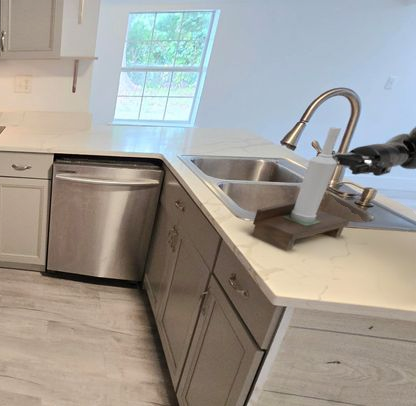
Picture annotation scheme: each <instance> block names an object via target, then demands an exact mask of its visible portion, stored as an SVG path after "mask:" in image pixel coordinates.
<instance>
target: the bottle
mask: <svg viewBox="0 0 416 406" xmlns="http://www.w3.org/2000/svg"><path fill="white" fill-rule="evenodd" d="M341 131H342V128H341V127H336V126H331V127H329V129H328V132H327V136H326V138H325V141H324V143H323V146H322V149H321V151H320V152H321V153H320V154H319V155H318V156H314V157H311V158H309V162H308V165H307V167H306V170H305V174H304V177H303V180H302V183H301V185H300V189H299V192H298V195H297V198H296V200H295V201H296V204H295V207H294V210H292V212H291V218H292V219H294V220H296V221H300V222H305V223H312V222H313V221H314V220H315V218H316V216H317V215H316V212H317V210H319V207H320V205H321V202H322V201H323V198H324V196H325V194H326V191H327V189H328V186H329V183H330V181H331V178H332V177H333V174H334V172H335V169H336V167H337V166H336V164H337V163H338V161H337V162H336V161H335V160H334V159H333V158H332V151H334V148H335V145H336V144H337V140H338V137H339V136H340V133H341Z"/></svg>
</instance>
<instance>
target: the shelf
mask: <svg viewBox="0 0 416 406" xmlns="http://www.w3.org/2000/svg"><path fill="white" fill-rule="evenodd" d="M296 201H297V200H294V201H289V202H285V203H280V204H276V205H272V206H266V207H262V208H257V210H256V213H255V216H254V218H253V223H252V225H253V226H254V227H253V230H252V233H251V237H254V238H256V239H259V240H261V241H263V242H265V243H267V244H270V245H271V246H274V247H277V248H279V249H281V250H283V251H291V250H292V248H293V245H294V242H295V240H298V239H299V240H300V239H302V238H306V237H310V236H313V235H318V234H325V235H328V236H330V237H333V238H338V237H340V236H341V235H342V232H343V230H344V228H345V227H347V226H348V225H349V222H350V220H348V219H346V218H343V217H339V216H337V215H334V214H331V213H329V212H324V211H322V210H319V209H318V210H317V212H316V215H317V216H316V218H315V220H314V221H313V222H312V223H305V222H300V221H296V220H294V219H292V218H291V212H292V210H294V207H295V204H296Z"/></svg>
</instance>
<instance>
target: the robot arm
mask: <svg viewBox="0 0 416 406" xmlns="http://www.w3.org/2000/svg"><path fill="white" fill-rule="evenodd" d="M321 152H322V151H318V152H317V153H316V156H318V155H319V154H320V153H321ZM316 156H315V157H316ZM332 158H333V159H334V160H335V161H336V162H337V164H336V167H343V168H344V169H345V168H348V169H349V170H350V171H351V174H352V175H356V176H357V175H361V174H363V175H369V174H372V175H373V176H376V177H377V176H379V177H380V176H384V175H386V174H389V173H391V171H392V168H395V167H398V166H399V167H401V168H402V169H405V170H416V126H414V127H413V128H412V129H411V130H410V131H409V133H400V134H397V135H394V136H392V137H391V138H389V139H387V140H386V141H385V142H384V143H374V144H367V145H362V146H357V147H355V148H352V149H351V150H350V151H348V152H336V151H335V150H333V151H332Z"/></svg>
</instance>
